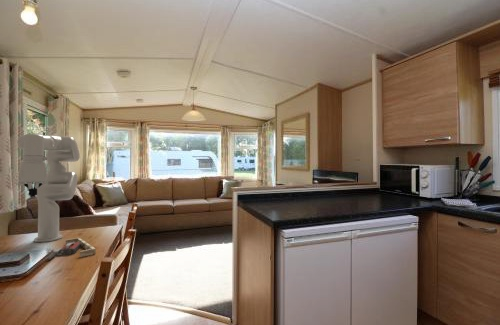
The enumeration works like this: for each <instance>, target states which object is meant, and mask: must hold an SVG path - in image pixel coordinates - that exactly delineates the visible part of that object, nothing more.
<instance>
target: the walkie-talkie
mask: <svg viewBox="0 0 500 325" xmlns="http://www.w3.org/2000/svg"><path fill="white" fill-rule="evenodd" d="M81 244H82V243H81V242H70V243H68V244H66V245H64V246H62V247H59V248H57V249H55V250H53V252H52V254H51V255H50V256H49V257H48V258H47V259H46V260H47V261H50V260H51V259H52V258H54V257H55V256H67V255H68V256H69V255H75V254H76V253H77V252H78V251H79V250H80V249H81V248H82V246H81Z"/></svg>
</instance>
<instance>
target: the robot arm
mask: <svg viewBox="0 0 500 325" xmlns="http://www.w3.org/2000/svg"><path fill="white" fill-rule="evenodd" d="M77 143H78V142H77V141H76V139H75V138H74V137H72V136H64V135H63V136H61V135H60V136H59V135H51V134H50V135H42V134H37V133H26V134H21V135H20V136H19V137H18V138H17V143H16V144H17V146H18V148H20V149H21V150H23V151H22V152H23V154H22V161H21V162H20V164H19V167H18V168H19V169H18V183H17V185H18V186H23V187H26V189H28V196H29V197H30V198H35V197H36V199H37V206H38V207H37V237H35V238H34V239H33V241H34V242H35V243H45V242H52V241H57V240H60V239H62V238H63V234H61V233H60V206H59V204H58V203H57V202H56V201H69V200H71V199H73V197H75V193H76V190H77V185H78V180H79V179H78V178H79V177H78V174H77V173H76V172H75V171H74V172H73V171H67V168H66V167H65V165H64V164H63V163H61V162H70V163H71V162H77V161H79V159H80V155H81V153H80V150H79V147H78V144H77ZM45 151H47V152H46V156H45ZM45 161H46V162H47V163H46V162H45ZM47 164H48V171H47ZM32 183H34V186H33V185H32Z"/></svg>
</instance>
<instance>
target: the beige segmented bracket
mask: <svg viewBox="0 0 500 325" xmlns="http://www.w3.org/2000/svg"><path fill="white" fill-rule="evenodd" d="M70 242H81V243H82V244H81V248H83V250H80V251H79V257H80V258H84V257H87V256H92V255H95V254H96V253H97V252H96V250H97V249H96V247H94V246H93V245H92V244H89V243H88V242H87V241H85V240H84V239H82V238H81V237H75V238H69V239H65V243H64V244H65V245H66V244H68V243H70ZM65 245H64V246H65Z"/></svg>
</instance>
